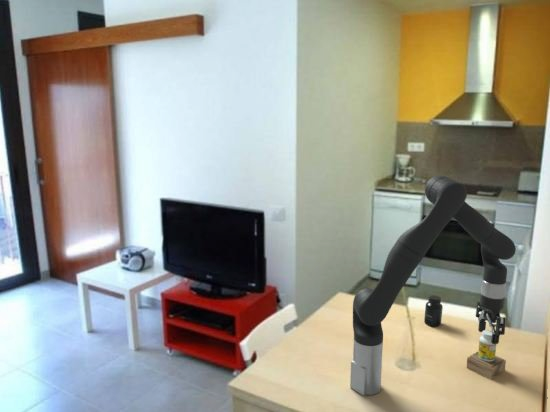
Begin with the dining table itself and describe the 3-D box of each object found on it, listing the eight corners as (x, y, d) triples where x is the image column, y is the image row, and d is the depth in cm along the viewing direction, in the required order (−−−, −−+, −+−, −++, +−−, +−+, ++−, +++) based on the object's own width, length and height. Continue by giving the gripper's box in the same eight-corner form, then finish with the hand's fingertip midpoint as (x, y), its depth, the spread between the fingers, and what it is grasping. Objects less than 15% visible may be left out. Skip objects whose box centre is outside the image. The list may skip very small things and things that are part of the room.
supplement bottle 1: (424, 326, 194) (426, 299, 192) (424, 319, 201) (425, 293, 198) (441, 328, 192) (443, 301, 190) (440, 321, 199) (442, 295, 196)
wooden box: (491, 379, 156) (492, 368, 155) (466, 367, 163) (467, 356, 163) (504, 370, 162) (505, 359, 161) (480, 359, 169) (481, 348, 168)
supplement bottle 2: (498, 360, 160) (500, 335, 158) (485, 363, 158) (487, 337, 156) (486, 352, 165) (489, 328, 163) (474, 355, 163) (476, 330, 161)
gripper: (515, 301, 150) (510, 347, 153) (492, 285, 164) (487, 327, 167) (493, 302, 149) (488, 348, 153) (471, 285, 163) (467, 328, 167)
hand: (487, 337), depth 160 cm, fingers open, 8 cm apart
